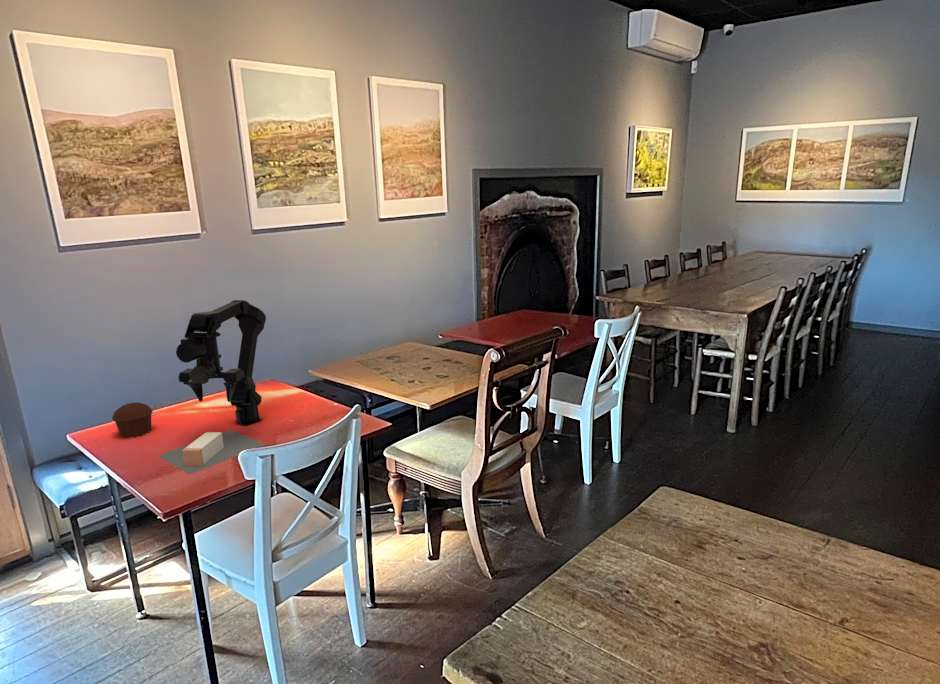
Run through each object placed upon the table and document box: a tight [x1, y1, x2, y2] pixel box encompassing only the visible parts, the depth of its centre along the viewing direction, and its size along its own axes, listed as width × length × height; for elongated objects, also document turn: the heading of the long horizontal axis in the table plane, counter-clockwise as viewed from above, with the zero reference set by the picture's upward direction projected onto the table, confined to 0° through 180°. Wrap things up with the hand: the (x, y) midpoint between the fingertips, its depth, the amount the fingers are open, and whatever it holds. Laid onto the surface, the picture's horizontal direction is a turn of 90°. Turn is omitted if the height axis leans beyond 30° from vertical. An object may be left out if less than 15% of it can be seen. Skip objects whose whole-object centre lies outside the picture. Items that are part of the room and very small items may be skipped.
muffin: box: [111, 401, 154, 438], centre depth 191 cm, size 12×11×10 cm
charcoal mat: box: [157, 429, 266, 475], centre depth 177 cm, size 24×20×1 cm
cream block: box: [182, 431, 224, 467], centre depth 172 cm, size 5×5×13 cm
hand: (215, 401), depth 182 cm, fingers open, 9 cm apart
